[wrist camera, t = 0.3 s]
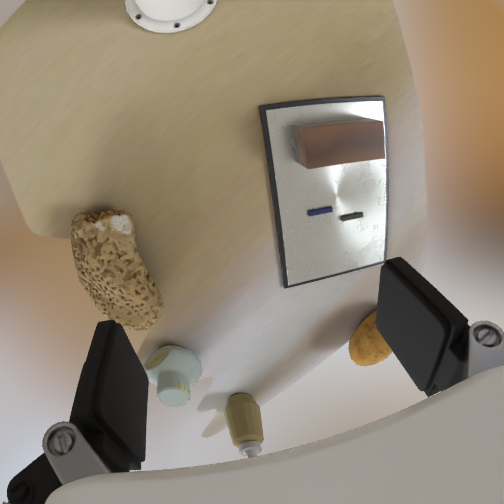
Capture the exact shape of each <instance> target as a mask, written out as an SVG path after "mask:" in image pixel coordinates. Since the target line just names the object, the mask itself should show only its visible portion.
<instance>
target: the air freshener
mask: <svg viewBox="0 0 504 504" xmlns="http://www.w3.org/2000/svg"><path fill="white" fill-rule="evenodd" d="M145 372H146V373H147V376H148V379H149V380H150V381H151V382H152V383H153V384H154V385H155V386H157V398H158V400H159V401H160V402H161V403H163V404H164V405H168V406H173V407H177V406H182V405H184V404H186V403H187V402H188V401H189V400H190V387H191V386H193V385H194V384H195V383H196V382H197V381H198V380H199V378H200V377H201V374H202V365H201V362H200V360H199V359H198V357H197V356H196V355H195V354H194V353H193V352H191V351H190V350H188V349H186V348H183V347H180V346H164V347H162V348H160V349H158V350H157V351H156V352H154V353H153V354H152V355H151V356H150V357H149V359H148V360H147V361H146V363H145Z"/></svg>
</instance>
